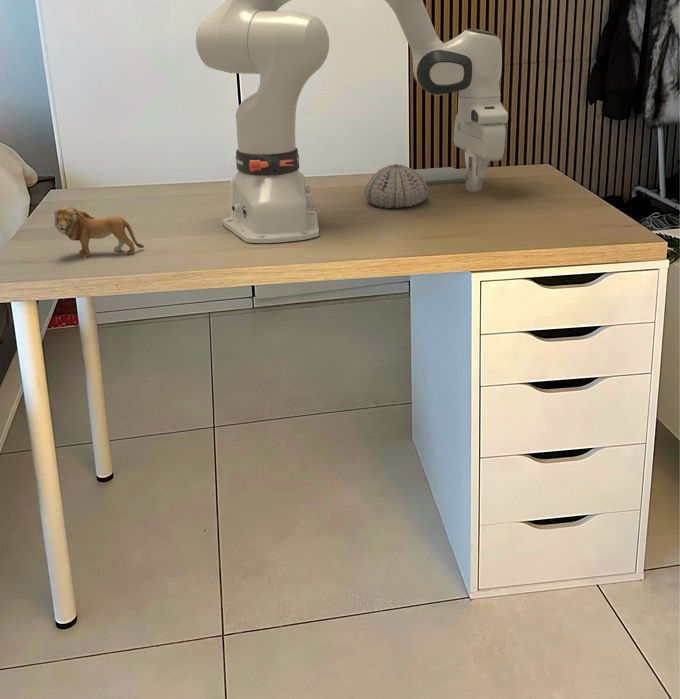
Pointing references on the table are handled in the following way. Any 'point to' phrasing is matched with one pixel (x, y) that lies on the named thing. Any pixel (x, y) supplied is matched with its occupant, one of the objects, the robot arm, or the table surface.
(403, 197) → the sea urchin shell
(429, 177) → the pad
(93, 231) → the lion figurine
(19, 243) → the table surface
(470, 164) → the milkshake
